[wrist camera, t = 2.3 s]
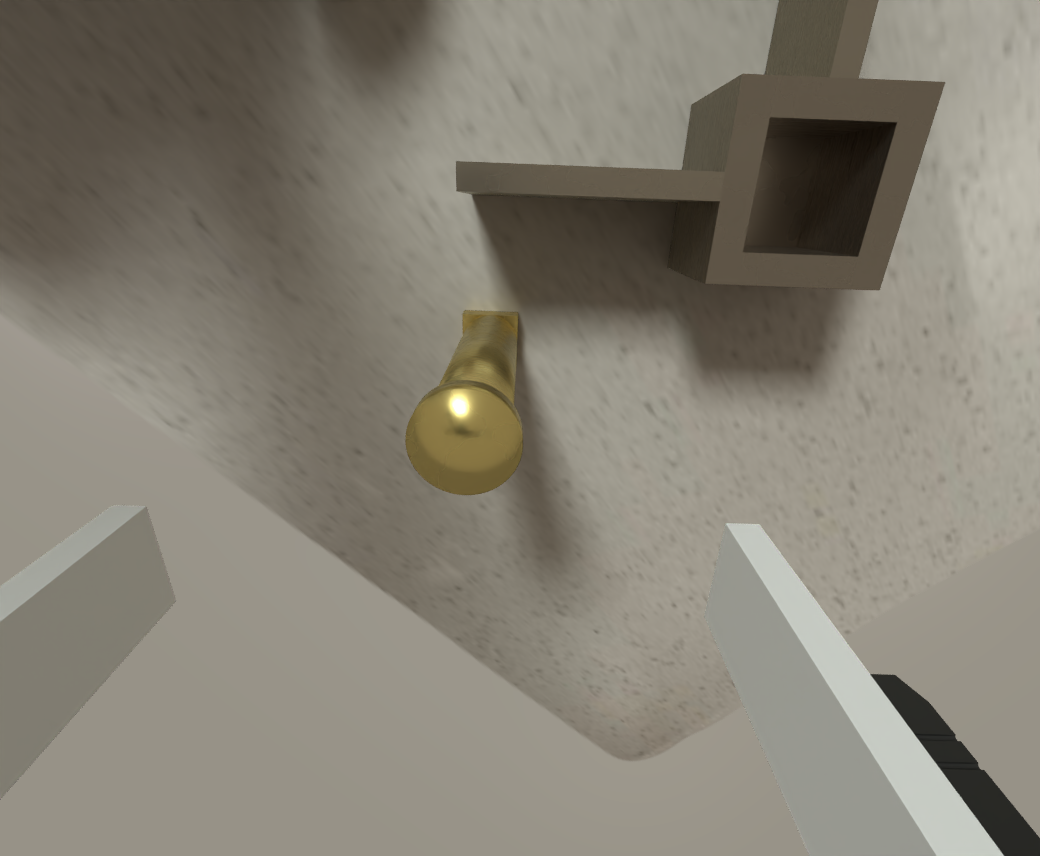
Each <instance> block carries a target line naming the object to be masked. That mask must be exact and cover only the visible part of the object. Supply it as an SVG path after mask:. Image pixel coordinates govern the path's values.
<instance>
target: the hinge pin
mask: <svg viewBox="0 0 1040 856" xmlns="http://www.w3.org/2000/svg"><path fill="white" fill-rule="evenodd" d="M517 334H518V312H497V311H470V310H465V311H464V312H463V336H462V338H461V340H460V342H459V344H458V347H457V349H456V351H455V353H454V355H453V357H452V359H451V361H450V363H449V366H448V368H447V370H446V372H445V374H444V376H443V378H442V380H441V382H440V384H439V386H437V387H436V388H434V389H433V390H431V391H430V392H429V393H427V394H426V395H425V396H424V397H423V398H422V400H421V401H420V402H419V404H418V405H417V407H416V409H415V411H414V413H413V415H412V417H411V419H410V421H409V423H408V426H407V430H406V449H407V453H408V456H409V459H410V461H411V463H412V465H413V466H414V468H415V469H416V471H417V472H418V473H419V474H420V475H421V476H422V477H423V478H424V479H425V480H426V481H427V482H429V483H430V484H431V485H433V486H435V487H436V488H439V489H441V490H443V491H446V492H449V493H453V494H459V495H475V494H481V493H485V492H488V491H490V490H493V489H495V488H497V487H498V486H500V485H501V484H503V483H504V482H505V481H506V480H508V479H509V478H510V476H511V475H512V474H513V473H514V471H515V470H516V468H517V466H518V464H519V462H520V459H521V455H522V449H523V428H522V422H521V419H520V416H519V413H518V411H517V409H516V408H515V406H514V392H515V373H516V363H517Z"/></svg>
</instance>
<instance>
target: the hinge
mask: <svg viewBox="0 0 1040 856" xmlns="http://www.w3.org/2000/svg"><path fill="white" fill-rule="evenodd" d="M877 4H878V0H779V4H778V9H777V14H776V19H775V24H774V29H773V35H772V40H771V45H770V50H769V55H768V61H767V66H766V71H765V75H758V74H742V75H740V76H738V77H737V78H735V79H733V80H732V81H730V82H728V83H727V84H725V85H723V86H722V87H720V88H718V89H717V90H715V91H713V92H712V93H710V94H709V95H707V96H705V97H704V98H702V99H700V100H699V101H697V102H695V103H694V104H692V106H691V112H690V119H689V126H688V133H687V140H686V146H685V153H684V160H683V167H682V170H664V169H639V168H613V167H588V166H562V165H537V164H511V163H486V162H460V161H456V187H457V191H458V192H463V193H467V194H475V195H501V196H526V197H552V198H578V199H604V200H630V201H656V202H677V207H676V214H675V221H674V228H673V235H672V241H671V248H670V255H669V262H668V268H670V269H672V270H674V271H677V272H679V273H681V274H684V275H686V276H688V277H691V278H693V279H695V280H698V281H700V282H702V283H704V284H723V285H750V286H777V287H803V288H830V289H856V290H880V287H881V284H882V281H883V278H884V274H885V271H886V268H887V265H888V262H889V259H890V255H891V252H892V249H893V246H894V243H895V240H896V236H897V233H898V230H899V227H900V224H901V221H902V217H903V214H904V211H905V208H906V205H907V201H908V198H909V195H910V192H911V189H912V186H913V182H914V179H915V176H916V173H917V170H918V167H919V163H920V160H921V157H922V154H923V151H924V148H925V144H926V141H927V138H928V135H929V132H930V129H931V125H932V122H933V119H934V116H935V113H936V110H937V106H938V103H939V100H940V97H941V94H942V91H943V87H944V84H945V82H931V81H906V80H881V79H858V78H859V74H860V70H861V66H862V62H863V58H864V55H865V51H866V47H867V43H868V39H869V35H870V31H871V27H872V23H873V19H874V16H875V12H876V8H877Z"/></svg>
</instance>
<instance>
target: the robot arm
mask: <svg viewBox="0 0 1040 856" xmlns="http://www.w3.org/2000/svg"><path fill="white" fill-rule="evenodd" d="M175 602H176V599H175V595H174V592H173V589H172V586H171V583H170V579H169V576H168V573H167V570H166V567H165V564H164V560H163V557H162V554H161V551H160V548H159V545H158V541H157V538H156V535H155V532H154V529H153V526H152V522H151V519H150V516H149V513H148V510H147V507H146V506H124V505H123V506H122V505H112V506H111V507H109V508H108V509H106V510H105V511H104V512H103V513H101V514H100V515H98V516H97V517H95V518H94V519H93V520H92V521H90V522H88V523H87V524H86V525H84V526H83V527H82V528H80V529H79V530H78V531H76V532H75V533H73V534H72V535H71V536H69V537H68V538H66V539H65V540H64V541H62V542H61V543H60V544H58V545H57V546H55V547H54V548H53V549H51V550H50V551H48V552H47V553H46V554H44V555H43V556H41V557H40V558H39V559H38V560H36V561H35V562H33V563H32V564H30V565H29V566H28V567H26V568H25V569H24V570H22V571H21V572H20V573H18V574H17V575H15V576H14V577H12V578H11V579H10V580H8V581H7V582H6V583H4V584H3V585H1V586H0V800H1V798H2V797H3V796H4V795H5V794H6V792H8V791H9V789H10V788H11V787H12V786H13V785H14V784H15V783H16V781H17V780H18V779H19V778H20V777H21V776H22V775H23V774H24V772H25V771H26V770H27V769H28V768H29V767H30V766H31V765H32V763H33V762H34V761H35V760H36V759H37V758H38V757H39V755H40V754H41V753H42V752H43V751H44V750H45V749H46V748H47V746H48V745H49V744H50V743H51V742H52V741H53V740H54V738H55V737H56V736H57V735H58V734H59V733H60V732H61V730H62V729H63V728H64V727H65V726H66V725H67V724H68V723H69V722H70V720H71V719H72V718H73V717H74V716H75V715H76V714H77V713H78V711H79V710H80V709H81V708H82V707H83V706H84V705H85V703H86V702H87V701H88V700H89V699H90V698H91V697H92V696H93V694H94V693H95V692H96V691H97V690H98V689H99V687H100V686H101V685H102V684H103V683H104V682H105V681H106V680H107V679H108V677H109V676H110V675H111V674H112V673H113V672H114V671H115V669H116V668H117V667H118V666H119V665H120V664H121V663H122V662H123V660H124V659H125V658H126V657H127V656H128V655H129V654H130V652H132V650H133V649H134V648H135V647H136V646H137V645H138V644H139V642H140V641H141V640H142V639H143V638H144V637H145V636H146V635H147V633H148V632H149V631H150V630H151V629H152V628H153V627H154V626H155V624H156V623H157V622H158V621H159V620H160V619H161V618H162V616H163V615H164V614H165V613H166V612H167V611H168V610H169V609H170V607H171V606H172V605H173V604H174V603H175ZM704 617H705V619H706V621H707V624H708V626H709V628H710V631H711V633H712V635H713V637H714V640H715V642H716V644H717V646H718V649H719V651H720V653H721V656H722V658H723V660H724V662H725V665H726V667H727V669H728V672H729V674H730V676H731V678H732V681H733V683H734V685H735V688H736V690H737V692H738V694H739V697H740V699H741V701H742V704H743V706H744V708H745V710H746V713H747V715H748V717H749V719H750V722H751V724H752V726H753V729H754V731H755V733H756V735H757V738H758V740H759V742H760V744H761V747H762V749H763V751H764V753H765V756H766V758H767V760H768V763H769V765H770V767H771V769H772V772H773V774H774V777H775V779H776V781H777V783H778V786H779V788H780V790H781V793H782V795H783V797H784V799H785V801H786V804H787V806H788V808H789V810H790V813H791V815H792V818H793V820H794V822H795V824H796V827H797V829H798V831H799V834H800V836H801V838H802V840H803V843H804V845H805V847H806V850H807V852H808V854H809V856H1040V838H1039V837H1038V835H1037V834H1036V833H1035V832H1034V831H1033V829H1032V828H1031V827H1030V826H1029V825H1028V823H1027V822H1026V821H1025V820H1024V818H1023V817H1022V816H1021V815H1020V813H1019V812H1018V811H1017V810H1016V808H1015V807H1014V806H1013V805H1012V804H1011V802H1010V801H1009V800H1008V799H1007V797H1006V796H1005V795H1004V794H1003V793H1002V791H1001V790H1000V789H999V788H998V786H997V785H996V784H995V783H994V782H993V780H992V779H991V778H990V777H989V775H988V774H987V773H986V772H985V771H984V770H981V769H980V768H979V767H978V762H977V761H976V760H975V758H974V757H973V756H972V755H971V753H970V752H969V751H968V750H967V748H966V747H965V746H964V745H963V744H962V742H961V741H957V740H956V738H955V734H954V732H953V731H952V730H951V729H950V728H949V726H948V725H947V724H946V723H945V721H944V720H943V719H942V718H941V717H940V715H939V714H938V713H937V712H936V710H935V709H934V708H933V707H932V706H931V704H930V703H929V702H928V701H927V700H925V699H924V698H923V697H922V696H920V695H919V694H918V693H917V692H915V691H914V690H913V689H912V688H910V687H909V686H908V685H907V684H905V683H904V682H903V681H901V680H900V679H899V678H898V677H897V676H896V675H878V674H869V672H868V671H867V670H866V668H865V667H864V665H863V664H862V663H861V661H860V660H859V659H858V657H857V656H856V655H855V653H854V652H853V651H852V649H851V648H850V647H849V645H848V644H847V643H846V641H845V640H844V638H843V637H842V636H841V634H840V633H839V632H838V630H837V629H836V628H835V626H834V625H833V623H832V622H831V621H830V619H829V618H828V617H827V615H826V614H825V613H824V611H823V610H822V609H821V607H820V606H819V605H818V603H817V602H816V600H815V599H814V598H813V596H812V595H811V594H810V592H809V591H808V590H807V588H806V587H805V586H804V584H803V583H802V582H801V580H800V579H799V577H798V576H797V575H796V573H795V572H794V571H793V569H792V568H791V567H790V565H789V564H788V563H787V561H786V560H785V558H784V557H783V556H782V554H781V553H780V552H779V550H778V549H777V548H776V546H775V545H774V544H773V542H772V541H771V540H770V538H769V537H768V535H767V534H766V533H765V531H764V530H763V529H762V527H761V526H760V525H759V524H731V523H726V524H725V528H724V533H723V537H722V541H721V546H720V550H719V554H718V559H717V563H716V567H715V572H714V576H713V580H712V585H711V589H710V593H709V598H708V602H707V606H706V611H705V615H704Z"/></svg>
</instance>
